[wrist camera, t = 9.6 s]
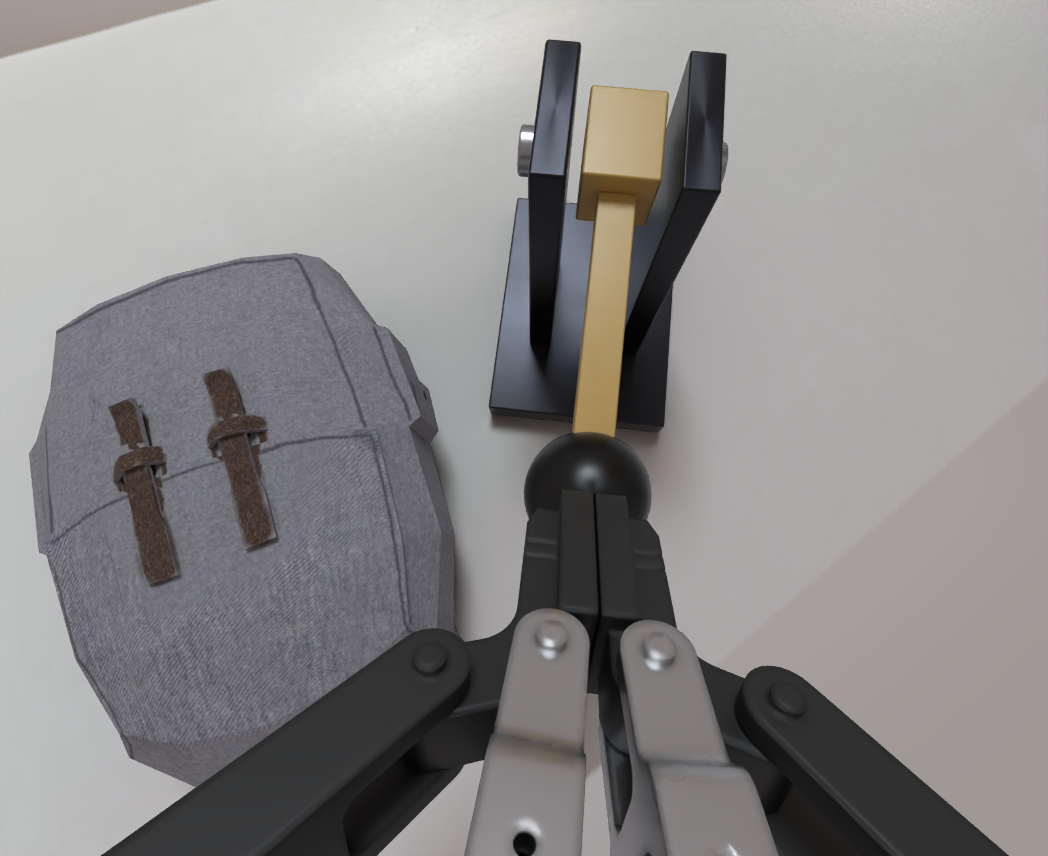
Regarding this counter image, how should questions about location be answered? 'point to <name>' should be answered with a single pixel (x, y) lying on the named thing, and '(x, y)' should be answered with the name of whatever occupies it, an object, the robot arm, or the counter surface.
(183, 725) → the soft grey pack
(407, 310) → the counter surface
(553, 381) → the lock bracket
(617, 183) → the lever
